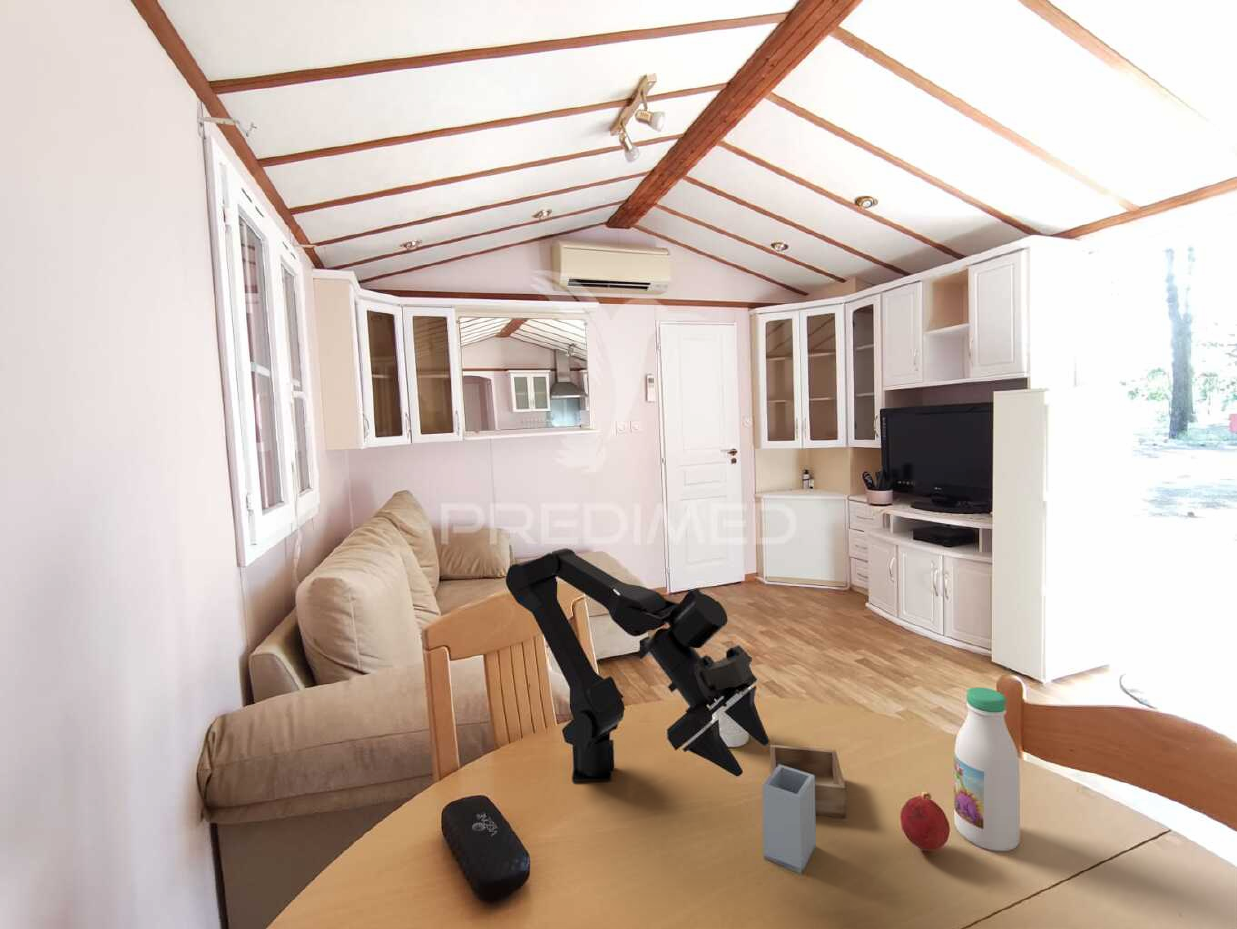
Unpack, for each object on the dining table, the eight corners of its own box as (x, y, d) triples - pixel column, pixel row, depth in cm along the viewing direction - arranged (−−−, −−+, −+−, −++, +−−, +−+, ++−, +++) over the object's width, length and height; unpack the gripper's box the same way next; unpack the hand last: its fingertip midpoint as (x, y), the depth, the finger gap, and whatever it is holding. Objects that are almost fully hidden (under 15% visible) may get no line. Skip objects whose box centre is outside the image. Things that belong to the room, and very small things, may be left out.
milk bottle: (1009, 821, 84) (1010, 684, 83) (1028, 858, 76) (1028, 709, 75) (949, 811, 86) (948, 678, 85) (960, 846, 79) (960, 702, 78)
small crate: (763, 857, 78) (762, 785, 77) (780, 832, 83) (779, 763, 82) (800, 873, 75) (799, 798, 74) (815, 846, 80) (814, 775, 79)
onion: (930, 871, 75) (930, 811, 74) (891, 844, 80) (890, 787, 79) (958, 855, 77) (958, 797, 77) (919, 830, 82) (918, 775, 82)
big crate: (772, 809, 88) (771, 780, 88) (770, 770, 98) (770, 744, 98) (845, 817, 85) (845, 787, 85) (836, 777, 96) (835, 750, 95)
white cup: (755, 749, 105) (754, 694, 104) (711, 749, 105) (710, 695, 105) (746, 727, 113) (745, 676, 112) (705, 728, 113) (704, 677, 112)
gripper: (683, 654, 76) (766, 762, 70) (743, 616, 91) (815, 702, 85) (636, 699, 81) (709, 803, 75) (700, 656, 96) (765, 740, 90)
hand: (754, 758), depth 81 cm, fingers open, 9 cm apart
